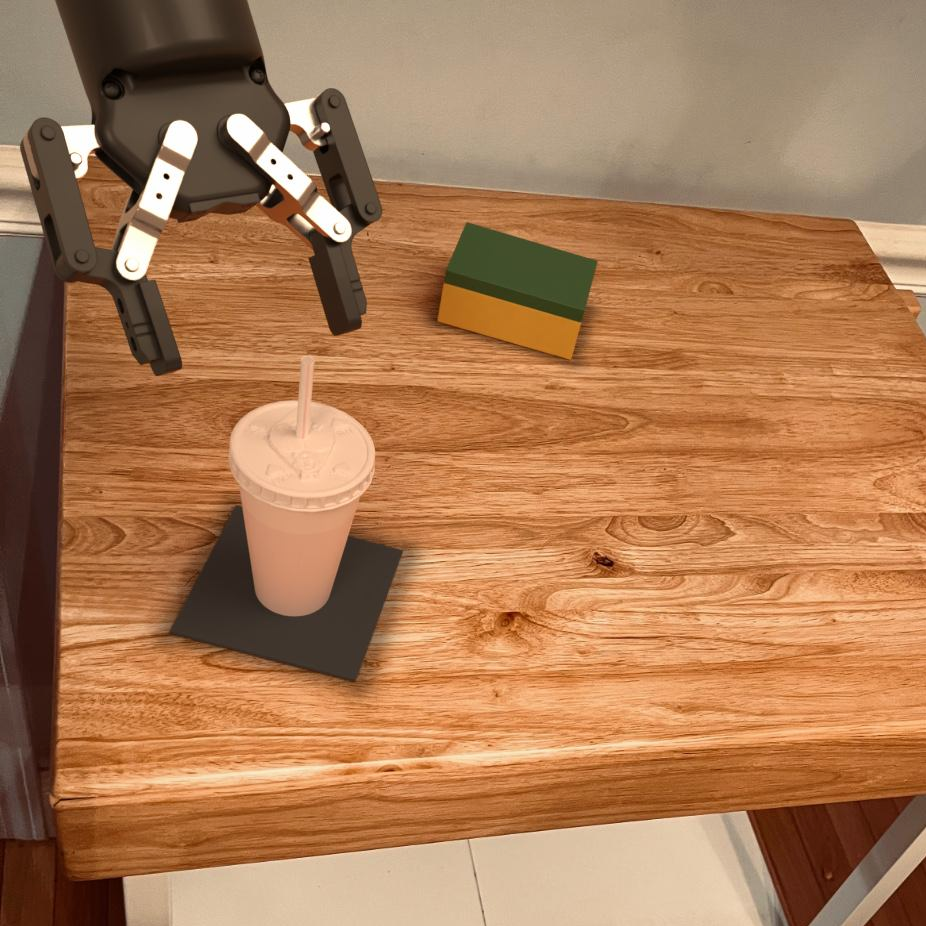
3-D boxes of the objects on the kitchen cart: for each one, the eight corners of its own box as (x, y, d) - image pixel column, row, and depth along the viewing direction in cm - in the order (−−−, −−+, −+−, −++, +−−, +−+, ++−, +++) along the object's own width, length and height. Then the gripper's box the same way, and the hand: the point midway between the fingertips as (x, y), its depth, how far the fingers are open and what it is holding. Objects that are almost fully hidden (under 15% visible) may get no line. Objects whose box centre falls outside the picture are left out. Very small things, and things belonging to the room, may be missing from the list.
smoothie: (346, 538, 63) (372, 321, 52) (368, 632, 59) (400, 419, 49) (219, 544, 60) (221, 320, 50) (233, 643, 57) (238, 422, 46)
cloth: (169, 633, 56) (169, 631, 56) (235, 507, 62) (235, 504, 62) (355, 682, 57) (355, 679, 57) (402, 552, 63) (402, 550, 63)
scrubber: (437, 321, 77) (445, 269, 74) (457, 272, 81) (466, 221, 78) (570, 360, 78) (584, 310, 75) (584, 309, 82) (598, 260, 79)
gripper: (-26, -68, 43) (125, 378, 46) (331, -77, 50) (438, 306, 54) (-53, 9, 49) (82, 398, 52) (269, -8, 56) (368, 331, 60)
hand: (262, 351), depth 53 cm, fingers open, 8 cm apart
